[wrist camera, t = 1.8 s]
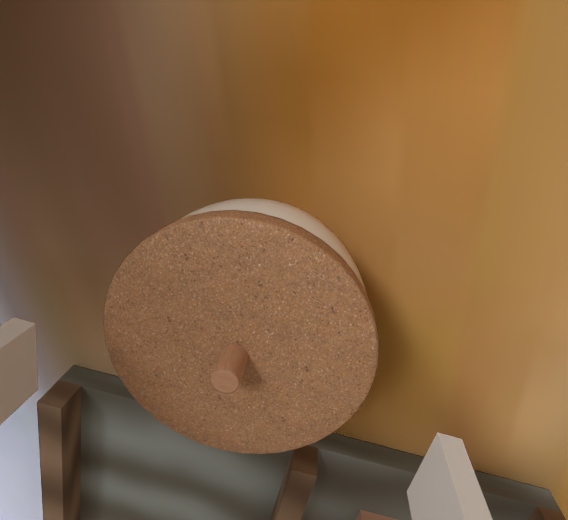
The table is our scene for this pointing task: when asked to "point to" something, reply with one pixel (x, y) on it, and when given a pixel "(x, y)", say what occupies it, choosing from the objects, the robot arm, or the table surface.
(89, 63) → the table surface
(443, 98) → the table surface
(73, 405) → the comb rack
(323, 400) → the lidded jar
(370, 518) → the terracotta block
